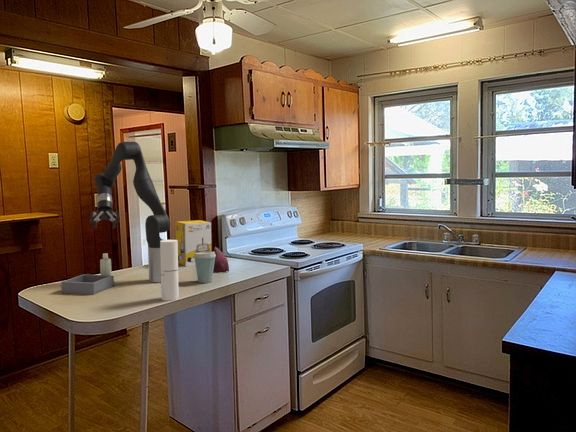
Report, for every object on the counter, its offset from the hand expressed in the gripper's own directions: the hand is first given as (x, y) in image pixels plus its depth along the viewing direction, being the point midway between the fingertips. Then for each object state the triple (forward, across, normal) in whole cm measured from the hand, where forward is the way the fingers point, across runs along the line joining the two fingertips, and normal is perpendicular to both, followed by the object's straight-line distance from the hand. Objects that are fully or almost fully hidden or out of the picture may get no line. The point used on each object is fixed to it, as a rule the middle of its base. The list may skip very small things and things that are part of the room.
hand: (104, 227), depth 232 cm
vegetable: (+23, +59, +11) cm, 65 cm away
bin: (+36, -7, -1) cm, 37 cm away
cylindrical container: (+56, +26, -24) cm, 66 cm away
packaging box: (+4, +50, +32) cm, 59 cm away
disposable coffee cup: (+38, +46, -6) cm, 61 cm away
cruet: (+26, +1, +9) cm, 28 cm away
